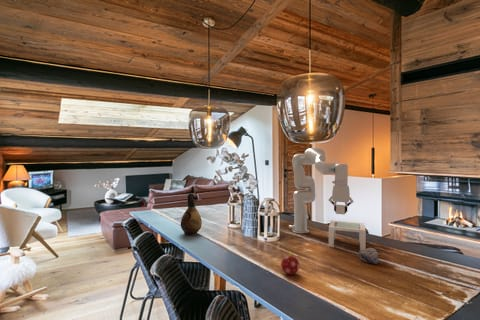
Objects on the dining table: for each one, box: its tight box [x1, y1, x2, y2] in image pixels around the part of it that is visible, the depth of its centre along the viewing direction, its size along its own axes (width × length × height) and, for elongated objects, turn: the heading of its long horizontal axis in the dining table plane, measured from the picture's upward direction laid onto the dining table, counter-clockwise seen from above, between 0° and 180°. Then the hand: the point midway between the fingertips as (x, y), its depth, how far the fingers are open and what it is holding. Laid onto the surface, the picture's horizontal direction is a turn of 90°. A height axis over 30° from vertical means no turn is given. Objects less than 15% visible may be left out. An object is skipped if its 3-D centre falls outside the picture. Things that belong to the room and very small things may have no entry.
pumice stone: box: [358, 247, 380, 265], centre depth 152 cm, size 10×8×10 cm
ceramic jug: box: [180, 192, 203, 237], centre depth 205 cm, size 17×15×30 cm
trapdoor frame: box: [328, 220, 367, 251], centre depth 183 cm, size 22×21×12 cm
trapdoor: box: [335, 221, 359, 229], centre depth 183 cm, size 15×14×1 cm
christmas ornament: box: [280, 252, 300, 276], centre depth 134 cm, size 9×9×10 cm
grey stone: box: [335, 204, 346, 216], centre depth 173 cm, size 5×5×5 cm
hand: (340, 212), depth 173 cm, fingers closed on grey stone, 5 cm apart
